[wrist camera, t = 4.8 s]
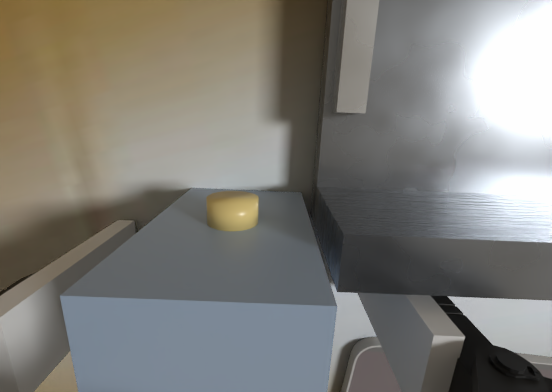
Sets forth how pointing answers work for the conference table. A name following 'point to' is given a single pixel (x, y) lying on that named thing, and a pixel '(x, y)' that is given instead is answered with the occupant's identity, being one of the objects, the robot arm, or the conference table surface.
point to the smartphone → (380, 378)
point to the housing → (208, 301)
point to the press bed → (436, 148)
